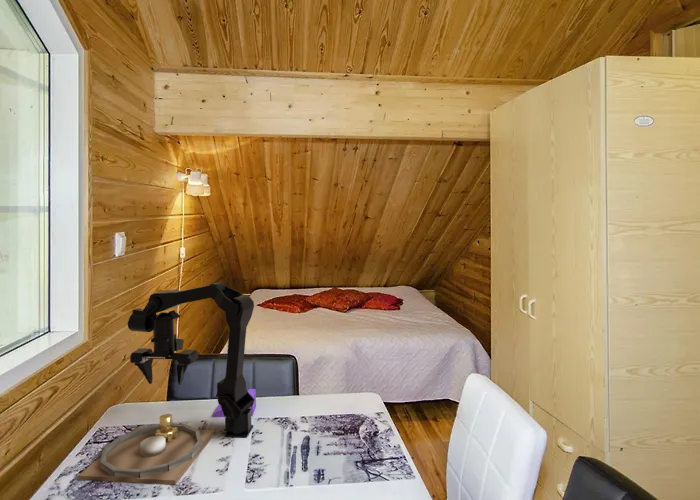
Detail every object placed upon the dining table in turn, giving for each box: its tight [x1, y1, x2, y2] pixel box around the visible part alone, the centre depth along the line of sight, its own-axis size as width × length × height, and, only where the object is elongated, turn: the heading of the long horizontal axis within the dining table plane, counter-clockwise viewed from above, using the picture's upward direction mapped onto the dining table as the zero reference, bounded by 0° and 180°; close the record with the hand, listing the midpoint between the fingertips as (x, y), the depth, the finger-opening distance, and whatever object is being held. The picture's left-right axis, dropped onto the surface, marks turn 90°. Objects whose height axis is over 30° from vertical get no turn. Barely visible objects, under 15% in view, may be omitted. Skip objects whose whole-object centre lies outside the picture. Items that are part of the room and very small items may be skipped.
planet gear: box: [155, 413, 178, 442], centre depth 120 cm, size 6×6×6 cm
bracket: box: [213, 388, 257, 418], centre depth 139 cm, size 12×7×7 cm, turn 94°
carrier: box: [77, 423, 217, 485], centre depth 114 cm, size 24×24×4 cm
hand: (165, 383), depth 131 cm, fingers open, 9 cm apart
